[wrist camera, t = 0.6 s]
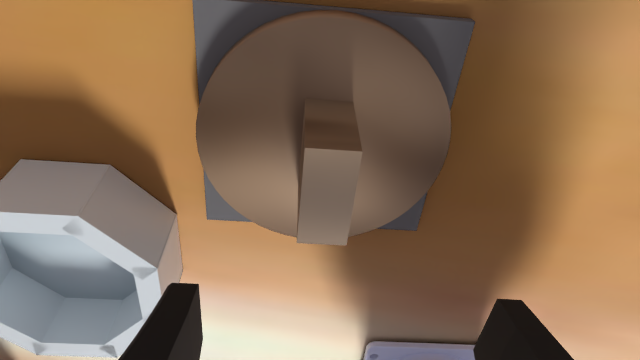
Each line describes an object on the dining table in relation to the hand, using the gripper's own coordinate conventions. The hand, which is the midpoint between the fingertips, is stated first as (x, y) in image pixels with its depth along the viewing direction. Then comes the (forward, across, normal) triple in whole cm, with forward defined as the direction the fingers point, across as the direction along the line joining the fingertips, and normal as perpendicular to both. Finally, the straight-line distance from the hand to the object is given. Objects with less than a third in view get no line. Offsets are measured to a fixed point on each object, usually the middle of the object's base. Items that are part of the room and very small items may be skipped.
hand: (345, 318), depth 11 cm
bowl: (+10, +11, +7) cm, 17 cm away
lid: (+10, 0, 0) cm, 10 cm away
